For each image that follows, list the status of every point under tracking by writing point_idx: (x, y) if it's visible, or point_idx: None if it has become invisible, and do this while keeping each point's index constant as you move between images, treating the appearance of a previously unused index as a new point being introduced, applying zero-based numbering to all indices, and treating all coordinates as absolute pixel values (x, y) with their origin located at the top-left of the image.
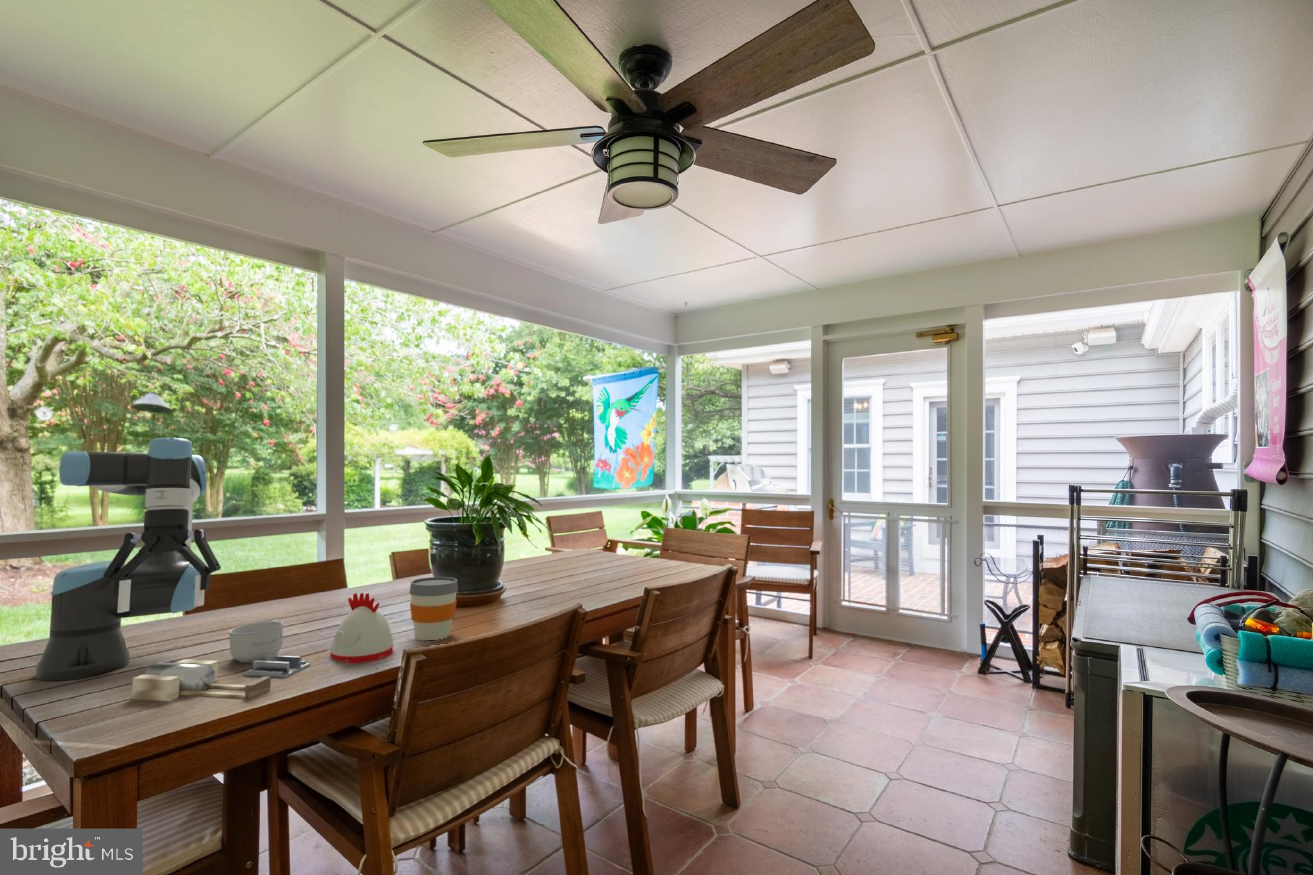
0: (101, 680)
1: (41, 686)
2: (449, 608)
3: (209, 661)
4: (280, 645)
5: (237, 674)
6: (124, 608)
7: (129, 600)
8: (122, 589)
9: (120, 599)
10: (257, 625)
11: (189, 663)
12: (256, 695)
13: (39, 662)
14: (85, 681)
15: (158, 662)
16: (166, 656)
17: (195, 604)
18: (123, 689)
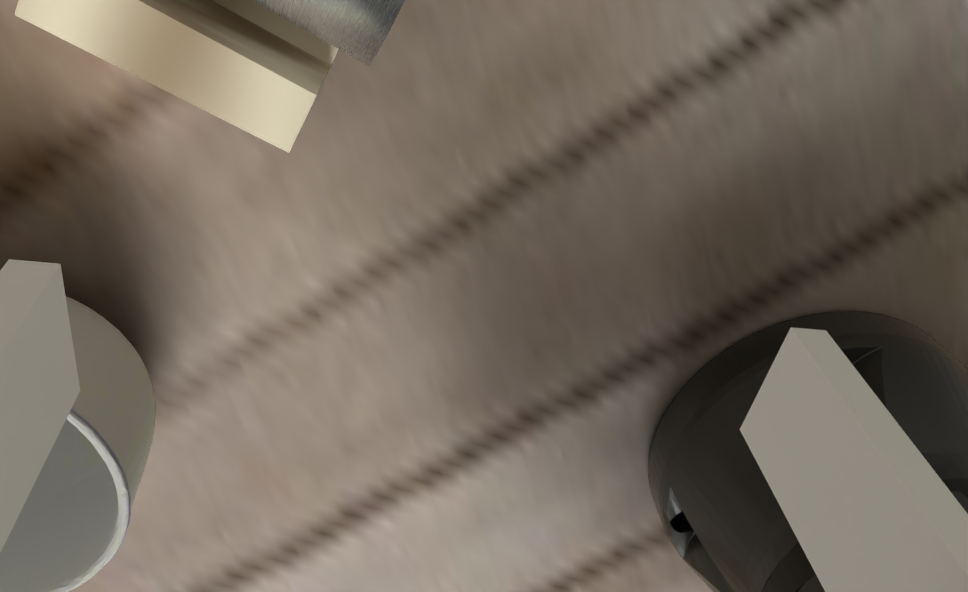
0: (706, 262)
1: (929, 260)
2: None
3: (80, 27)
4: None
5: (24, 120)
6: (787, 389)
7: (784, 509)
8: (942, 529)
9: (881, 430)
10: (20, 584)
11: (213, 38)
12: None
13: None
14: (769, 271)
15: (392, 18)
16: (515, 526)
17: (35, 279)
18: (573, 65)
